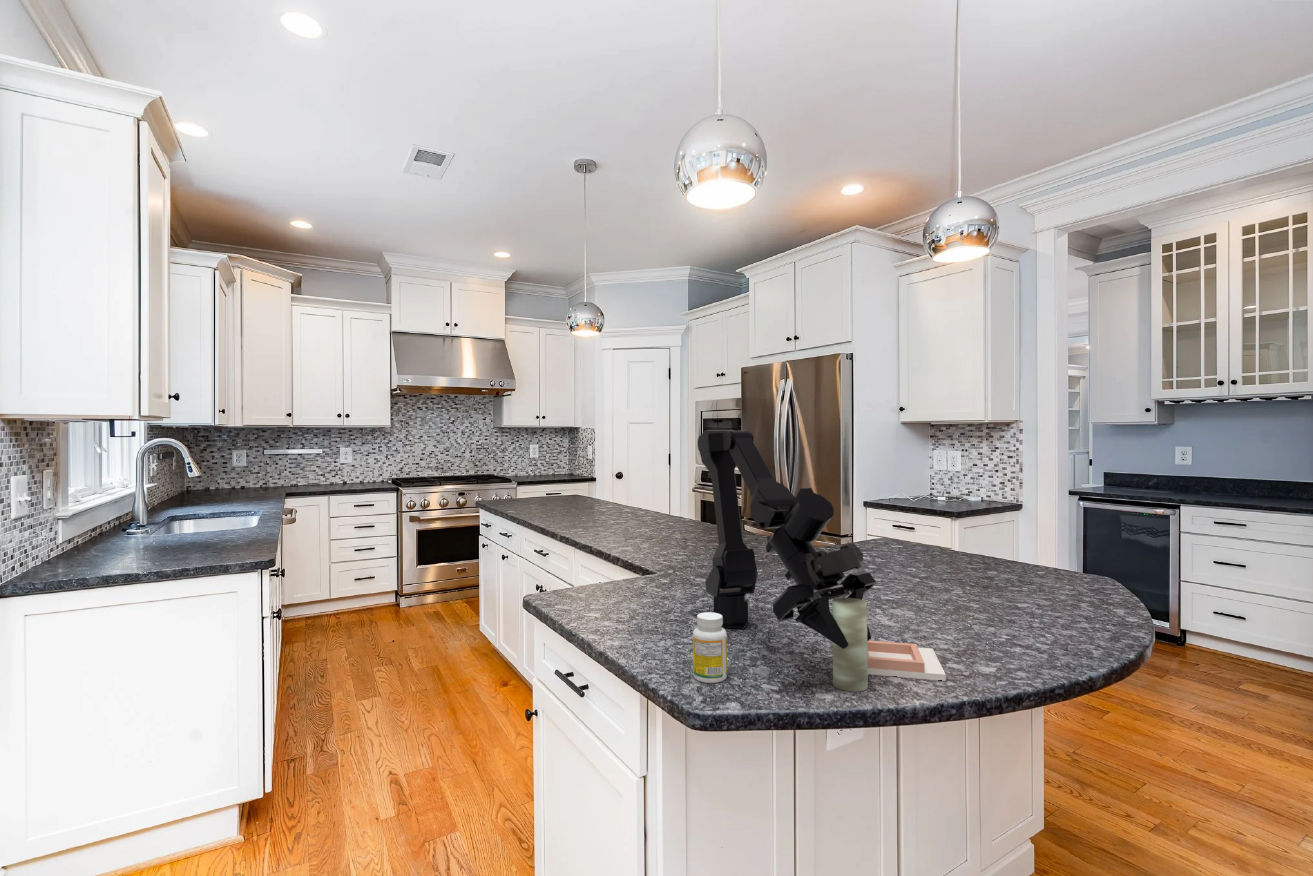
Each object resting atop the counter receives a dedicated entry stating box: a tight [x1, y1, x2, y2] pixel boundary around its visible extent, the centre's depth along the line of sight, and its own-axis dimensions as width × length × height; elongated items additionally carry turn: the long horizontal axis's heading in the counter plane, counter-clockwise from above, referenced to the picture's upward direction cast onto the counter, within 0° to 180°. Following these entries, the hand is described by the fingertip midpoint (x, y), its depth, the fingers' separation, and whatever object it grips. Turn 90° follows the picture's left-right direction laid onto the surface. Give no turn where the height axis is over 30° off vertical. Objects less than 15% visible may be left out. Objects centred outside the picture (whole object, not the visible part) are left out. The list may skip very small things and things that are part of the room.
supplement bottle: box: [692, 611, 728, 684], centre depth 97 cm, size 5×5×10 cm
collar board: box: [867, 640, 947, 682], centre depth 102 cm, size 12×12×2 cm
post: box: [831, 598, 869, 693], centre depth 93 cm, size 5×5×12 cm
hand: (857, 643), depth 92 cm, fingers closed on post, 5 cm apart
